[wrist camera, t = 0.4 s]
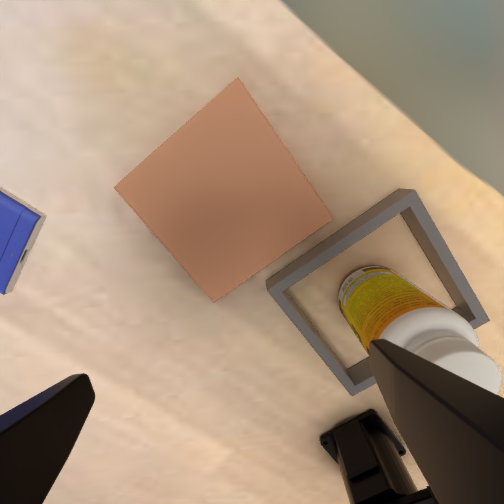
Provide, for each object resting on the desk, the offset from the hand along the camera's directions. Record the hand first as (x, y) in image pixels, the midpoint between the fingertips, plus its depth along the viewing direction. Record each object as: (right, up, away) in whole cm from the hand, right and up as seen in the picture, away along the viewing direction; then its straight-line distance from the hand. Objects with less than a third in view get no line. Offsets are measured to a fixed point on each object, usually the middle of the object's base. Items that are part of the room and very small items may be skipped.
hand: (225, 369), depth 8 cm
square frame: (+11, 0, +14) cm, 18 cm away
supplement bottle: (+11, 0, +14) cm, 18 cm away
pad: (-1, +7, +12) cm, 14 cm away
